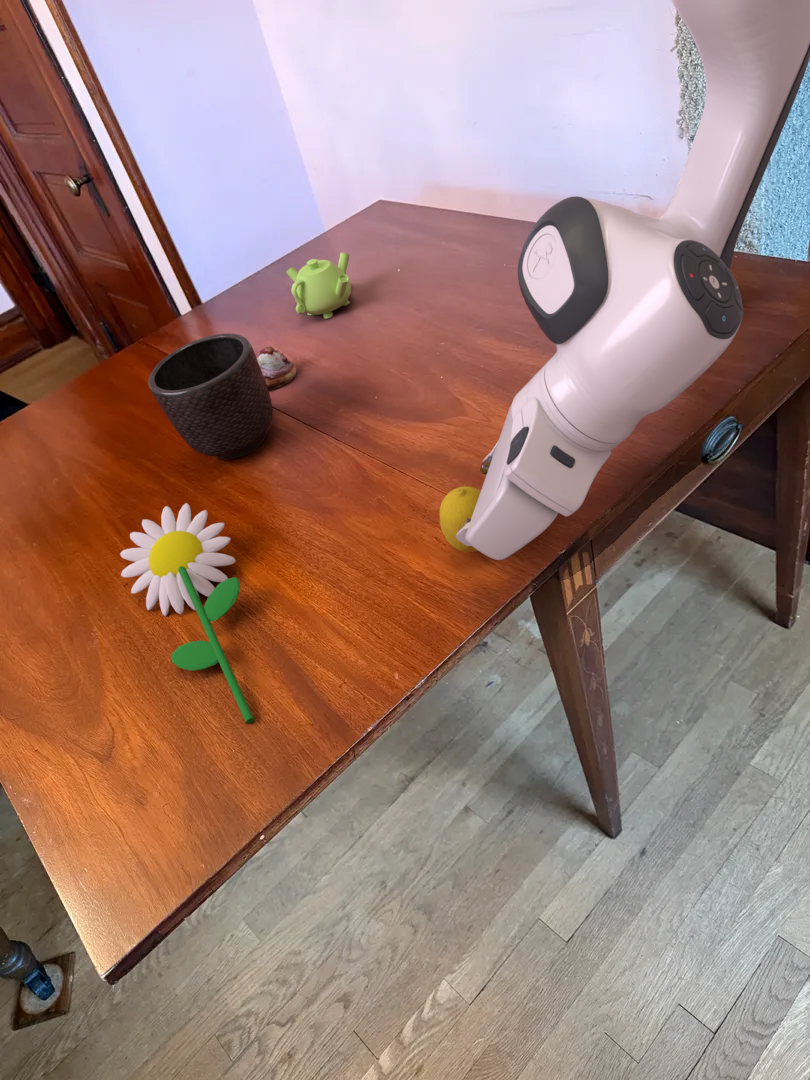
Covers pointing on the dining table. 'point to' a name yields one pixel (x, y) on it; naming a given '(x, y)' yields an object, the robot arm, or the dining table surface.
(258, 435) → the planter
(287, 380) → the pastry
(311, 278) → the teapot
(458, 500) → the lemon
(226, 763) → the dining table surface
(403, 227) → the dining table surface
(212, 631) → the decorative flower
